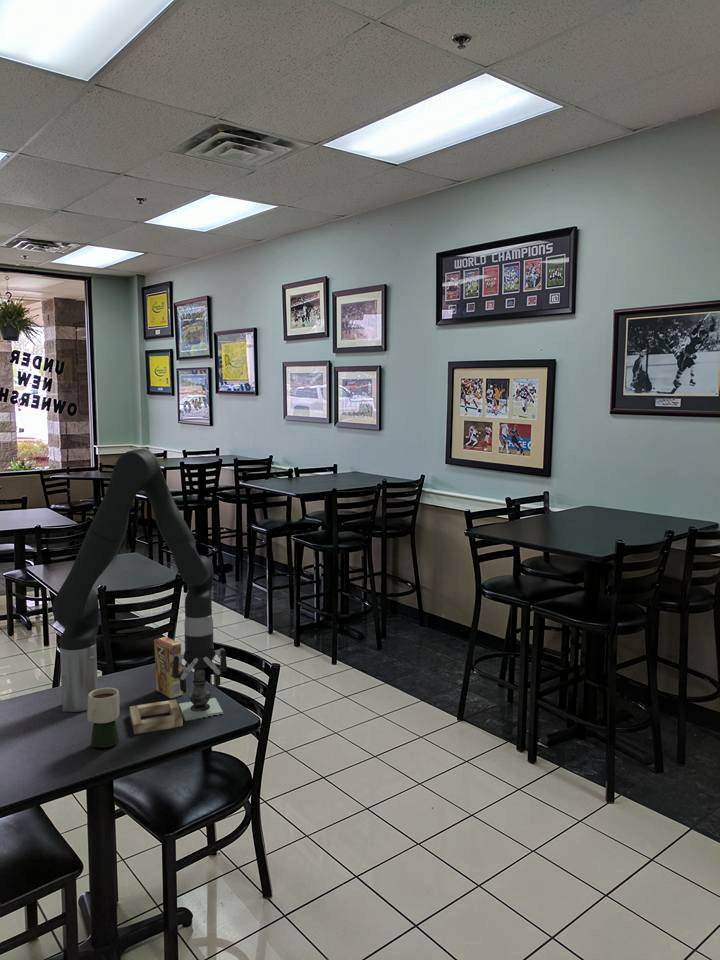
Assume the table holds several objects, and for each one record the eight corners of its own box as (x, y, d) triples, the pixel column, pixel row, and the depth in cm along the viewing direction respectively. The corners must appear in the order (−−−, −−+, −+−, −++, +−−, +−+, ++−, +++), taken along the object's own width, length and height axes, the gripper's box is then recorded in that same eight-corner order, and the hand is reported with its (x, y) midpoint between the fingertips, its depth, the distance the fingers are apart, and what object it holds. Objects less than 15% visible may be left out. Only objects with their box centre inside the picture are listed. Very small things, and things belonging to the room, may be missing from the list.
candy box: (183, 695, 202) (182, 643, 201) (170, 699, 199) (168, 646, 198) (168, 686, 208) (166, 636, 207) (154, 690, 205) (153, 639, 204)
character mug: (108, 732, 178) (106, 683, 177) (131, 737, 176) (130, 686, 175) (77, 752, 168) (75, 699, 167) (102, 757, 166) (100, 703, 164)
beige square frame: (134, 734, 177) (133, 724, 177) (129, 715, 188) (129, 706, 188) (182, 726, 182) (182, 716, 182) (175, 708, 193) (175, 699, 193)
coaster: (184, 720, 185) (184, 717, 185) (179, 706, 194) (179, 703, 194) (222, 714, 189) (222, 711, 189) (215, 700, 198) (215, 697, 198)
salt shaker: (205, 713, 188) (204, 669, 187) (185, 711, 189) (184, 667, 188) (214, 704, 194) (213, 661, 193) (194, 702, 195) (193, 660, 194)
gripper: (222, 624, 196) (223, 680, 197) (169, 630, 190) (171, 688, 192) (228, 631, 189) (229, 690, 190) (173, 638, 183) (175, 698, 185)
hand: (200, 689), depth 191 cm, fingers open, 8 cm apart
